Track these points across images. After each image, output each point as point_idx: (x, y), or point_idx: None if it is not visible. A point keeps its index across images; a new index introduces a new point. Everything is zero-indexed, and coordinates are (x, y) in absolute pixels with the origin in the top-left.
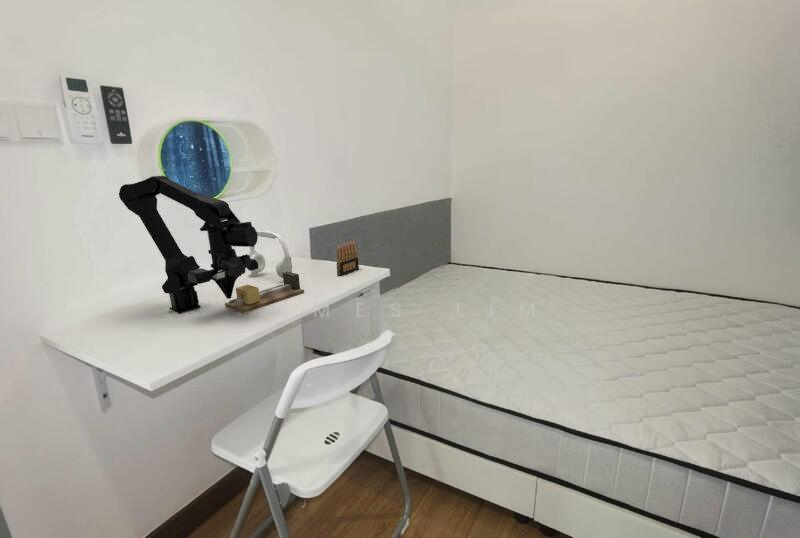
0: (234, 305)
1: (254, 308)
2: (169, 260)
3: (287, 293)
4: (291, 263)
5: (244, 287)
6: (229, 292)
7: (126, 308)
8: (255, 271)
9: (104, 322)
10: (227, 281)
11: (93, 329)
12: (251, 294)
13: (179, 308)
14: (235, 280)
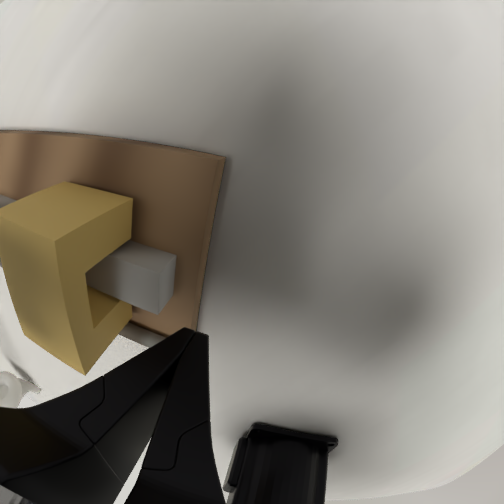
0: (179, 293)
1: (138, 141)
2: None
3: None
4: None
5: (43, 322)
6: (171, 367)
7: None
8: (18, 383)
9: (405, 482)
10: (112, 466)
11: (442, 469)
12: (56, 212)
13: (319, 454)
14: (32, 409)
